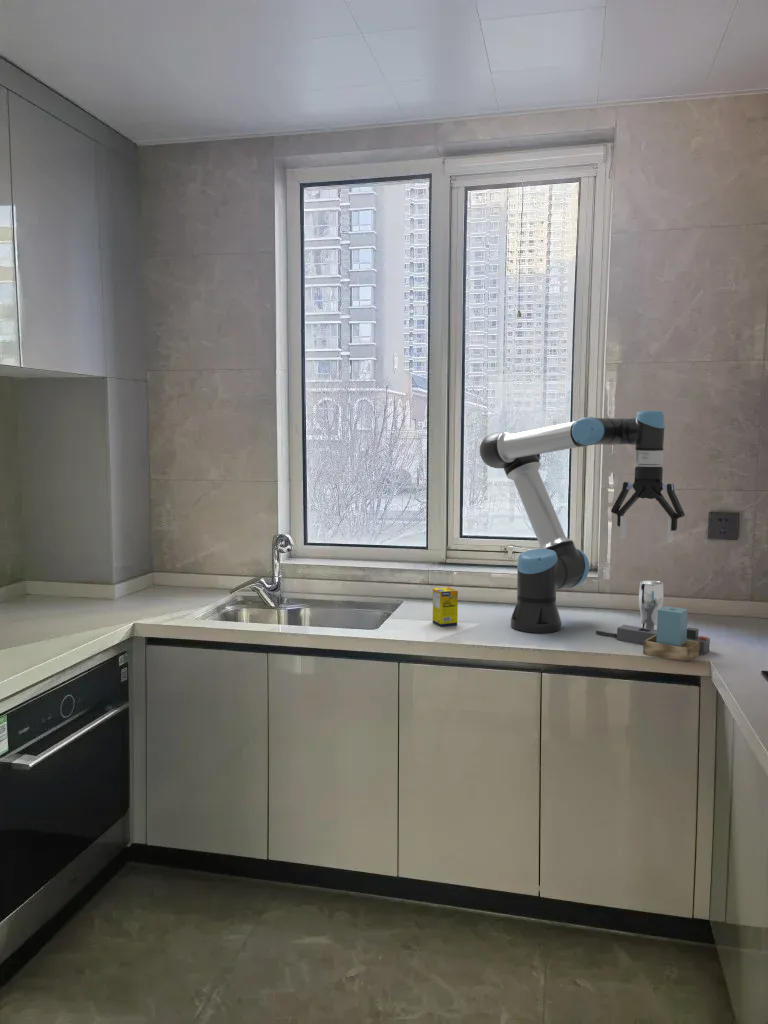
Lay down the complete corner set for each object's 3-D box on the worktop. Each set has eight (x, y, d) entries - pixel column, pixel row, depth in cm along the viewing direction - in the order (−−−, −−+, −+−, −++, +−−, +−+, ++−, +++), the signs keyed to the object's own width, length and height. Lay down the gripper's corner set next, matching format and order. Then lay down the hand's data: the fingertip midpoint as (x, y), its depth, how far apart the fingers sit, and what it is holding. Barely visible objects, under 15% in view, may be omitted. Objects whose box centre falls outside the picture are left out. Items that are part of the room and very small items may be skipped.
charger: (656, 652, 205) (657, 609, 204) (663, 647, 210) (665, 605, 209) (678, 656, 201) (680, 612, 200) (686, 651, 206) (687, 608, 205)
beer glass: (632, 629, 232) (634, 580, 230) (651, 627, 234) (653, 579, 233) (648, 635, 225) (649, 585, 224) (667, 633, 228) (669, 583, 226)
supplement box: (457, 625, 237) (458, 590, 235) (440, 626, 234) (440, 591, 233) (449, 620, 242) (449, 586, 241) (432, 622, 240) (432, 588, 239)
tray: (643, 653, 206) (643, 641, 205) (654, 646, 213) (655, 634, 212) (689, 662, 198) (689, 648, 198) (699, 654, 205) (700, 641, 205)
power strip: (592, 635, 225) (592, 615, 224) (598, 632, 228) (599, 612, 228) (703, 654, 205) (704, 633, 205) (709, 650, 209) (710, 629, 208)
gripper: (601, 464, 222) (599, 537, 224) (690, 467, 206) (686, 545, 208) (611, 464, 228) (609, 535, 230) (698, 466, 212) (695, 542, 214)
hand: (645, 540), depth 219 cm, fingers open, 13 cm apart
